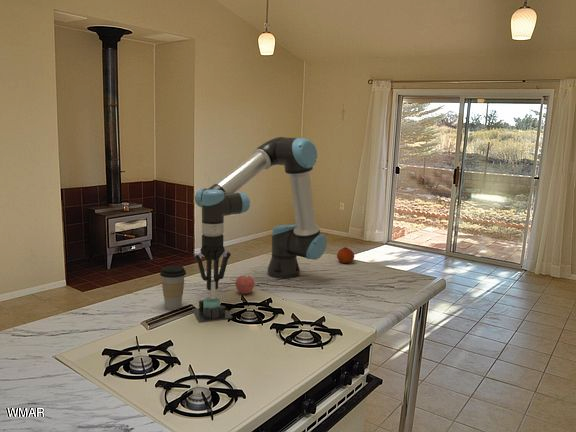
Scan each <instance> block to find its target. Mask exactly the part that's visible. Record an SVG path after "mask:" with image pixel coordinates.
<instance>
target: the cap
mask: <svg viewBox="0 0 576 432" xmlns="http://www.w3.org/2000/svg"><path fill="white" fill-rule="evenodd" d="M202 300H203V314H204V308H218V307H220V306H221V298H219V297H216V296H215V299H212V300H211V299H210V297H209V296H208V297H205V298H204V299H202Z"/></svg>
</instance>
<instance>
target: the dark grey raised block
mask: <svg viewBox="0 0 576 432" xmlns="http://www.w3.org/2000/svg"><path fill="white" fill-rule="evenodd" d="M203 300H204V299H202V300H199V301H198V307H197V308H192V309H191V311H192V312H193V315H194V317H195V319H196V320H197V322H198V324H201V323H208V322H216V321H224V320H225V321H226V320H232V318H233V315H232V314H231V313H230V311H228V309H227V310H225V308H226V305H224V306H223V305H220V307H218V308H204V314H203Z"/></svg>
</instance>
